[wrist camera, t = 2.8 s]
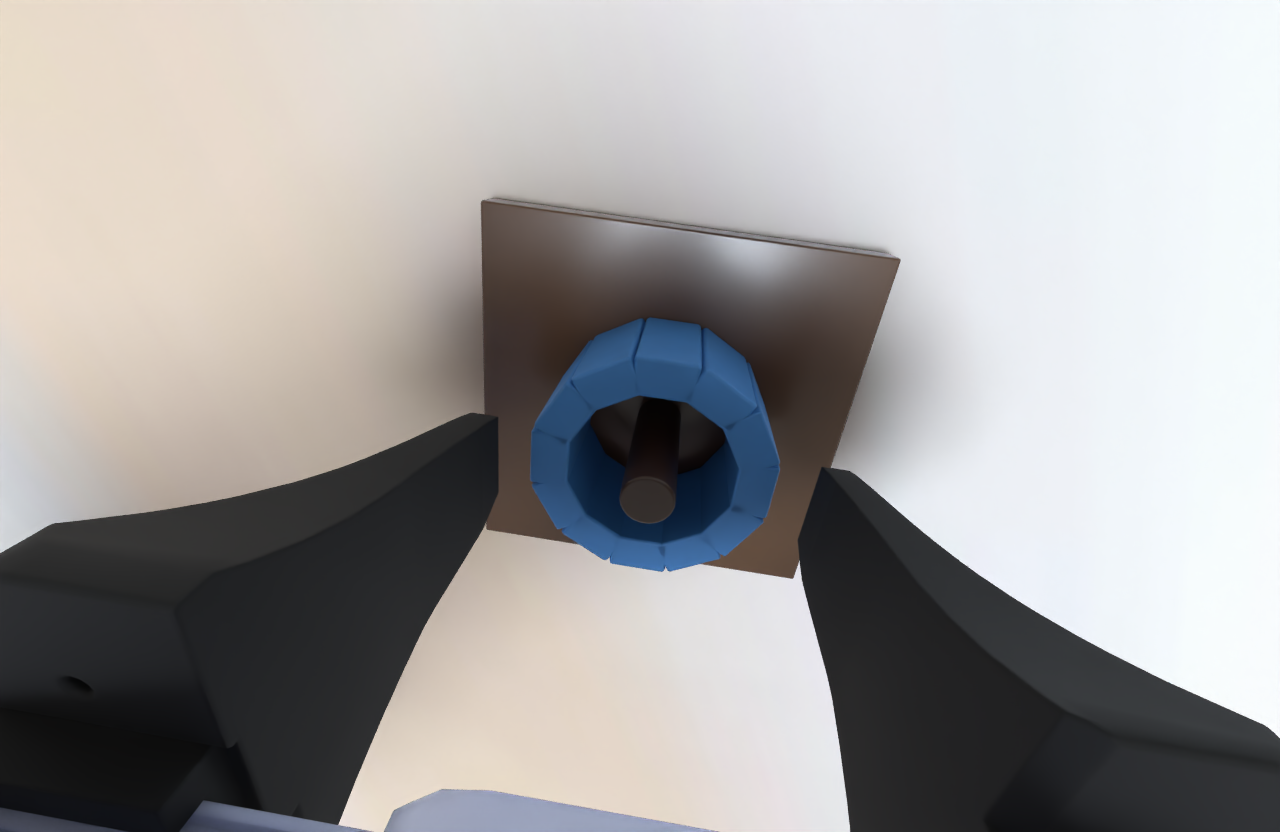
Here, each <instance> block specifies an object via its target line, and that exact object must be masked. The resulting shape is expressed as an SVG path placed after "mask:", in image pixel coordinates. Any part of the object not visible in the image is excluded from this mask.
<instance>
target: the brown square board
mask: <svg viewBox="0 0 1280 832" xmlns="http://www.w3.org/2000/svg"><path fill="white" fill-rule="evenodd" d="M481 227H482V287H483V348H484V408H485V415H491V416H497V417H498V454H499V493H498V495H497V497H496V500H495V502H494V505H493V507H492V510H491V512H490V514H489V516H488V519H487V521H486V528H487V530H493V531H499V532H505V533H511V534H517V535H524V536H530V537H536V538H542V539H549V540H555V541H561V542H567V543H573V544H578V543H577V542H575V541H573V540H572V539H570V538H569V537H567V536H566V535H564V534H563V533H562V528H561V529H557V528H556V527H555V525H554V523H553V521H552V520H551V518H550V516H549V515H548V513H547V511H546V510H545V508H544V506H543V505H542V503H541V501H540V500H539V498H538V496H537V494H536V493H535V491H534V489H533V488H532V484H533V482H532V481H531V480H530V462H531V431H532V430H533V428H534V426H535V421H536V420H537V418H538V416H539V415H540V413H541V412H542V410H543V408H544V407H545V405H546V403H547V402H548V400H549V398H550V397H551V395H552V394H553V392H554V390H555V389H556V387H557V385H558V384H559V382H560V380H561V379H562V377H563V375H564V374H565V373H566V371H567V370H568V369H569V367H570V366H571V365H572V363H573V362H574V361H575V359H576V358H577V357H578V355H579V354H580V353H581V351H582V350H583V349H584V347H585V346H586V345H587V343H588V342H589V341H590V340H594V338H595V337H596V336H597V335H599V334H601V333H604V332H607V331H609V330H612V329H614V328H617V327H619V326H622V325H624V324H627V323H629V322H632V321H635V320H637V319H640V318H643V319H644V321H645V323H646V320H647V318H650V317H651V318H658V319H665V320H672V321H679V322H686V323H693V324H698V325H700V326H701V331H702V330H703V329H704V328H708V329H709V330H711V331H712V332H713V333H714V334H716V335H717V336H718V337H719V338H721V339H722V340H723V341H725V342H726V343H727V344H728V345H730V346H731V347H732V348H734V349H735V350H736V351H737V352H739V353H740V354H741V355H742V356H744V357H745V359H746V363H750V365H751V368H752V371H753V374H754V377H755V379H756V382H757V385H758V388H759V391H760V394H761V396H762V399H763V402H764V405H765V408H766V412H767V416H768V419H769V423H770V427H771V430H772V434H773V438H774V441H775V445H776V449H777V452H778V456H779V460H780V464H779V467H780V472H779V476H778V479H777V483H776V486H775V490H774V493H773V496H772V500H771V503H770V507H769V510H768V514H767V516H766V518H763V521H764V522H763V524H761V525H760V526H759V527H758V528H757V529H756V530H755V531H753V532H752V533H751V534H750V535H749V536H748V537H747V538H745V539H744V540H743V541H742V542H741V543H740V544H739V545H737V546H736V547H735V548H734V549H733V550H732V551H731V552H729V553H728V554H727V555H726V556H723V555H721V554H720V559H717V560H713V561H709V562H705V563H701V564H704V565H710V566H716V567H723V568H729V569H735V570H741V571H747V572H754V573H760V574H766V575H772V576H779V577H785V578H791V579H792V578H793V577H794V575H795V572H796V569H797V566H798V563H799V550H798V537H799V534H800V531H801V528H802V525H803V522H804V519H805V516H806V513H807V510H808V507H809V504H810V501H811V498H812V495H813V492H814V488H815V485H816V482H817V479H818V476H819V473H820V470H821V467H826V468H831V465H832V462H833V459H834V456H835V453H836V450H837V447H838V444H839V441H840V438H841V435H842V432H843V430H844V427H845V424H846V421H847V418H848V415H849V412H850V409H851V406H852V403H853V400H854V397H855V394H856V391H857V388H858V385H859V382H860V379H861V376H862V373H863V370H864V367H865V364H866V361H867V358H868V356H869V353H870V350H871V347H872V344H873V341H874V338H875V335H876V332H877V329H878V326H879V323H880V320H881V317H882V314H883V311H884V308H885V305H886V302H887V299H888V296H889V293H890V290H891V287H892V284H893V282H894V279H895V276H896V273H897V270H898V267H899V264H900V259H899V258H897V257H895V256H893V255H891V254H889V253H883V252H875V251H868V250H861V249H854V248H847V247H840V246H832V245H825V244H818V243H811V242H804V241H797V240H789V239H782V238H775V237H768V236H761V235H754V234H746V233H739V232H732V231H725V230H718V229H710V228H703V227H696V226H689V225H682V224H675V223H667V222H660V221H653V220H646V219H639V218H632V217H624V216H617V215H610V214H603V213H596V212H589V211H581V210H574V209H567V208H560V207H553V206H545V205H538V204H531V203H524V202H517V201H510V200H502V199H495V198H492V199H487V200H483V201H482V202H481ZM590 425H591V427H592V429H593V430H594V432H595V434H596V436H597V438H598V440H599V442H600V444H601V446H602V448H603V450H604V452H605V454H606V455H608V456H609V457H611V458H612V459H614V460H615V461H617V462H618V463H620V464H621V465H622V466H624V467H625V473H624V477H623V482H622V486H621V490H620V495H619V501H620V505H621V507H622V509H623V511H624V512H625V513H626V514H627V515H628V516H629V517H630V518H632V519H633V520H635V521H638V522H641V523H657V522H660V521H662V520H664V519H666V518H667V517H668V516H669V515H670V514H671V513H672V512H673V510H674V508H675V505H676V491H677V475H678V474H682V473H685V472H688V471H692V470H695V469H698V468H701V467H702V466H703V465H704V464H705V463H706V462H707V461H708V460H709V459H710V458H711V457H712V456H713V455H714V454H715V453H716V452H717V451H718V450H719V449H720V448H721V447H722V446H723V445H724V442H725V437H726V436H725V433H724V431H723V429H722V428H720V427H719V426H718V425H716V424H715V423H714V422H712V421H711V420H709V419H708V418H707V417H705V416H704V415H703V414H701V413H700V412H699V411H697V410H696V409H695V408H693V407H692V406H691V405H689V404H688V403H686V402H679V401H673V400H666V399H660V398H653V397H646V396H640V395H639V396H636V397H633V398H630V399H628V400H625V401H622V402H619V403H616V404H613V405H610V406H608V407H605V408H602V409H599V410H596V411H595V413H594V414H593V415H592V416H591V420H590Z"/></svg>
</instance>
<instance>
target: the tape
mask: <svg viewBox="0 0 1280 832" xmlns="http://www.w3.org/2000/svg"><path fill="white" fill-rule="evenodd" d="M639 395H640V396H646V397H653V398H660V399H666V400H673V401H679V402H686V403H688V404H689V405H691V406H692V407H693V408H695V409H696V410H697V411H699V412H700V413H701V414H703V415H704V416H705V417H707V418H708V419H709V420H711V421H712V422H714V423H715V424H716V425H718V426H719V427H720V428H722V429H723V431H724V433H725V436H726V437H725V442H724V445H723V446H722V447H721V448H720V449H719V450H718V451H717V452H716V453H715V454H714V455H713V456H712V457H711V458H710V459H709V460H708V461H707V462H706V463H705V464H704V465H703V466H702V467H701V468H698V469H695V470H692V471H688V472H685V473H682V474H678V475H677V491H676V505H675V508H674V510H673V512H672V513H671V514H670V515H669V516H668V517H667V518H666V519H664V520H662V521H660V522H657V523H641V522H638V521H635V520H633V519H632V518H630V517H629V516H628V515H627V514H626V513H625V512H624V511H623V509H622V507H621V505H620V501H619V495H620V490H621V486H622V482H623V477H624V473H625V467H624V466H622V465H621V464H620V463H618V462H617V461H615V460H614V459H612V458H611V457H609V456H608V455H606V454H605V452H604V450H603V448H602V446H601V444H600V442H599V440H598V438H597V436H596V434H595V432H594V430H593V429H592V427H591V425H590V420H591V416H592V415H593V414H594V413H595V411H596V410H599V409H602V408H605V407H608V406H610V405H613V404H616V403H619V402H622V401H625V400H628V399H630V398H633V397H636V396H639ZM779 464H780V460H779V456H778V452H777V449H776V445H775V441H774V438H773V434H772V430H771V427H770V423H769V419H768V416H767V412H766V408H765V405H764V402H763V399H762V396H761V394H760V391H759V388H758V385H757V382H756V379H755V377H754V374H753V371H752V368H751V365H750V363H746V359H745V357H744V356H742V355H741V354H740V353H739V352H737V351H736V350H735V349H734V348H732V347H731V346H730V345H728V344H727V343H726V342H725V341H723V340H722V339H721V338H719V337H718V336H717V335H716V334H714V333H713V332H712V331H711V330H709V329H708V328H704V329H703V330H702V331H701V326H700V325H698V324H693V323H686V322H679V321H672V320H665V319H658V318H651V317H650V318H647V320H646V323H645V321H644V319H643V318H640V319H637V320H635V321H632V322H629V323H627V324H624V325H622V326H619V327H617V328H614V329H612V330H609V331H607V332H604V333H601V334H599V335H597V336H596V337H595V338H594V340H590V341H589V342H588V343H587V345H586V346H585V347H584V349H583V350H582V351H581V353H580V354H579V355H578V357H577V358H576V359H575V361H574V362H573V363H572V365H571V366H570V367H569V369H568V370H567V371H566V373H565V374H564V375H563V377H562V379H561V380H560V382H559V384H558V385H557V387H556V389H555V390H554V392H553V394H552V395H551V397H550V398H549V400H548V402H547V403H546V405H545V407H544V408H543V410H542V412H541V413H540V415H539V416H538V418H537V420H536V421H535V426H534V428H533V430H532V431H531V462H530V480H531V481H532V482H533V484H532V488H533V489H534V491H535V493H536V494H537V496H538V498H539V500H540V501H541V503H542V505H543V506H544V508H545V510H546V511H547V513H548V515H549V516H550V518H551V520H552V521H553V523H554V525H555V527H556V528H557V529H561V528H562V533H563V534H564V535H566V536H567V537H569V538H570V539H572V540H573V541H575V542H577V543H578V544H580V545H581V546H583V547H584V548H586V549H587V550H589V551H591V552H592V553H594V554H595V555H597V556H598V557H600V558H602V559H603V560H607V559H608V558H609V557H610V563H612V564H618V565H624V566H630V567H636V568H642V569H649V570H655V571H661V572H662V571H664V569H665V566H666V568H667V570H668V571H674V570H678V569H682V568H686V567H690V566H693V565H697V564H701V563H705V562H709V561H713V560H717V559H720V554H721V555H723V556H726V555H727V554H728V553H729V552H731V551H732V550H733V549H734V548H735V547H736V546H737V545H739V544H740V543H741V542H742V541H743V540H744V539H745V538H747V537H748V536H749V535H750V534H751V533H752V532H753V531H755V530H756V529H757V528H758V527H759V526H760V525H761V524H763V522H764V521H763V518H766V516H767V514H768V510H769V507H770V503H771V500H772V496H773V493H774V490H775V486H776V483H777V479H778V476H779V472H780V467H779Z"/></svg>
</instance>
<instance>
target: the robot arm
mask: <svg viewBox="0 0 1280 832" xmlns="http://www.w3.org/2000/svg"><path fill="white" fill-rule="evenodd" d="M498 493H499V454H498V417H497V416H491V415H484V414H478V413H469V414H466V415H463V416H461V417H459V418H456V419H454V420H452V421H449V422H447V423H445V424H443V425H441V426H438V427H436V428H434V429H432V430H430V431H428V432H425V433H423V434H421V435H419V436H417V437H414V438H412V439H410V440H408V441H406V442H403V443H401V444H399V445H397V446H394V447H392V448H389V449H387V450H384V451H382V452H379V453H377V454H375V455H372V456H370V457H367V458H365V459H362V460H360V461H357V462H355V463H352V464H349V465H347V466H344V467H341V468H338V469H335V470H332V471H329V472H326V473H323V474H320V475H316V476H313V477H310V478H307V479H304V480H300V481H297V482H293V483H289V484H285V485H281V486H277V487H273V488H269V489H265V490H261V491H257V492H253V493H249V494H245V495H241V496H236V497H232V498H227V499H222V500H217V501H212V502H207V503H202V504H196V505H190V506H184V507H178V508H172V509H167V510H160V511H153V512H147V513H139V514H131V515H123V516H114V517H106V518H98V519H90V520H82V521H73V522H63V523H54V524H51V525H49V526H47V527H45V528H44V529H42V530H40V531H38V532H37V533H35V534H33V535H32V536H30V537H28V538H26V539H25V540H23V541H21V542H19V543H18V544H16V545H14V546H12V547H11V548H9V549H7V550H5V551H4V552H2V553H0V832H372V831H367V830H361V829H356V828H351V827H345V826H340V825H338V824H339V821H340V819H341V816H342V814H343V811H344V809H345V806H346V804H347V801H348V799H349V796H350V794H351V791H352V788H353V786H354V783H355V781H356V778H357V776H358V774H359V771H360V769H361V767H362V764H363V762H364V759H365V757H366V755H367V752H368V750H369V748H370V745H371V743H372V740H373V738H374V736H375V733H376V731H377V729H378V726H379V724H380V721H381V719H382V717H383V715H384V712H385V710H386V708H387V706H388V704H389V701H390V699H391V697H392V695H393V692H394V690H395V688H396V686H397V684H398V681H399V679H400V677H401V675H402V672H403V670H404V668H405V666H406V664H407V662H408V660H409V658H410V656H411V653H412V651H413V649H414V647H415V645H416V643H417V641H418V639H419V637H420V635H421V632H422V630H423V628H424V626H425V625H426V623H427V621H428V619H429V617H430V616H431V614H432V612H433V610H434V608H435V607H436V605H437V604H438V602H439V600H440V599H441V597H442V595H443V594H444V592H445V591H446V589H447V587H448V586H449V584H450V582H451V581H452V579H453V578H454V576H455V574H456V573H457V571H458V569H459V568H460V566H461V565H462V563H463V561H464V560H465V558H466V556H467V555H468V553H469V551H470V550H471V548H472V546H473V545H474V543H475V541H476V540H477V538H478V536H479V535H480V533H481V531H482V530H483V528H484V525H485V523H486V521H487V519H488V516H489V514H490V512H491V510H492V507H493V505H494V502H495V500H496V497H497V495H498ZM798 550H799V560H800V568H801V576H802V582H803V586H804V590H805V594H806V598H807V602H808V606H809V609H810V613H811V617H812V621H813V624H814V628H815V632H816V636H817V639H818V643H819V647H820V650H821V654H822V658H823V662H824V665H825V669H826V673H827V677H828V681H829V686H830V690H831V695H832V700H833V706H834V713H835V719H836V725H837V732H838V738H839V744H840V751H841V759H842V766H843V774H844V781H845V789H846V796H847V804H848V813H849V822H850V832H1280V738H1279V737H1278V736H1277V735H1276V734H1275V733H1274V732H1272V731H1271V730H1270V729H1269V728H1268V727H1266V726H1265V725H1263V724H1260V723H1258V722H1256V721H1254V720H1251V719H1249V718H1247V717H1245V716H1242V715H1240V714H1238V713H1236V712H1233V711H1231V710H1229V709H1227V708H1225V707H1222V706H1220V705H1218V704H1216V703H1213V702H1211V701H1209V700H1207V699H1204V698H1202V697H1200V696H1198V695H1195V694H1193V693H1191V692H1189V691H1186V690H1184V689H1182V688H1180V687H1177V686H1175V685H1173V684H1171V683H1169V682H1166V681H1164V680H1162V679H1160V678H1158V677H1156V676H1154V675H1152V674H1150V673H1148V672H1146V671H1144V670H1142V669H1140V668H1138V667H1136V666H1134V665H1132V664H1130V663H1128V662H1126V661H1124V660H1122V659H1120V658H1118V657H1116V656H1114V655H1112V654H1110V653H1108V652H1106V651H1104V650H1103V649H1101V648H1099V647H1097V646H1095V645H1093V644H1091V643H1090V642H1088V641H1086V640H1084V639H1082V638H1080V637H1078V636H1077V635H1075V634H1073V633H1071V632H1070V631H1068V630H1066V629H1064V628H1063V627H1061V626H1059V625H1057V624H1056V623H1054V622H1052V621H1051V620H1049V619H1047V618H1045V617H1044V616H1042V615H1040V614H1039V613H1037V612H1035V611H1033V610H1032V609H1030V608H1029V607H1027V606H1025V605H1024V604H1022V603H1021V602H1019V601H1017V600H1016V599H1014V598H1013V597H1011V596H1010V595H1008V594H1007V593H1005V592H1004V591H1002V590H1001V589H999V588H998V587H996V586H995V585H993V584H992V583H990V582H989V581H987V580H986V579H984V578H983V577H981V576H980V575H978V574H977V573H975V572H974V571H973V570H971V569H970V568H968V567H967V566H966V565H964V564H963V563H962V562H960V561H959V560H958V559H956V558H955V557H954V556H952V555H951V554H950V553H949V552H947V551H946V550H945V549H943V548H942V547H941V546H939V545H938V544H937V543H936V542H934V541H933V540H932V539H931V538H929V537H928V536H927V535H926V534H924V533H923V532H922V531H921V530H920V529H918V528H917V527H916V526H915V525H914V524H912V523H911V522H910V521H909V520H908V519H907V518H905V517H904V516H903V515H902V514H901V513H900V512H898V511H897V510H896V509H895V508H894V507H893V506H892V505H890V504H889V503H888V502H887V501H886V500H885V499H884V498H882V497H881V496H880V495H879V494H878V493H877V492H875V491H874V490H873V489H872V488H871V487H870V486H868V485H867V484H866V483H865V482H864V481H862V480H861V479H860V478H859V477H857V476H856V475H855V474H853V473H852V472H850V471H846V470H839V469H833V468H826V467H821V470H820V473H819V476H818V479H817V482H816V485H815V488H814V492H813V495H812V498H811V501H810V504H809V507H808V510H807V513H806V516H805V519H804V522H803V525H802V528H801V531H800V534H799V537H798ZM384 832H718V831H712V830H707V829H701V828H695V827H690V826H684V825H679V824H673V823H668V822H662V821H657V820H651V819H646V818H640V817H635V816H629V815H624V814H618V813H613V812H607V811H601V810H596V809H590V808H585V807H579V806H574V805H568V804H563V803H557V802H552V801H546V800H541V799H535V798H530V797H524V796H519V795H513V794H507V793H502V792H496V791H488V790H452V789H441V790H439V791H437V792H434V793H432V794H429V795H427V796H425V797H422V798H420V799H417V800H415V801H412V802H410V803H408V804H406V805H404V806H402V807H400V808H398V809H396V810H394V811H393V813H392V815H391V818H390V820H389V822H388V824H387V826H386V828H385V830H384Z"/></svg>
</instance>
